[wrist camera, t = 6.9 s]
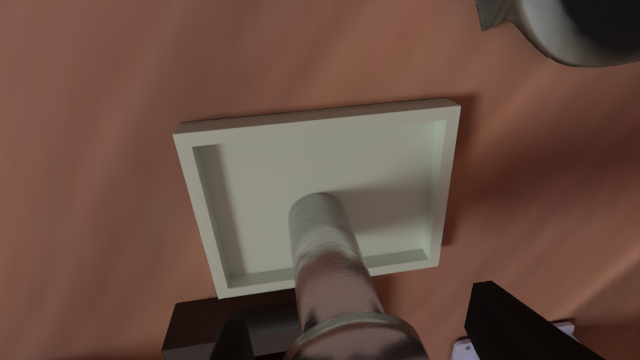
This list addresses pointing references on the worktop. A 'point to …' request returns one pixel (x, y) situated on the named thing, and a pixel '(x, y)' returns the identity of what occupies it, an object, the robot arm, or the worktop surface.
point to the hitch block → (208, 316)
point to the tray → (319, 185)
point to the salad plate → (572, 28)
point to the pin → (339, 292)
